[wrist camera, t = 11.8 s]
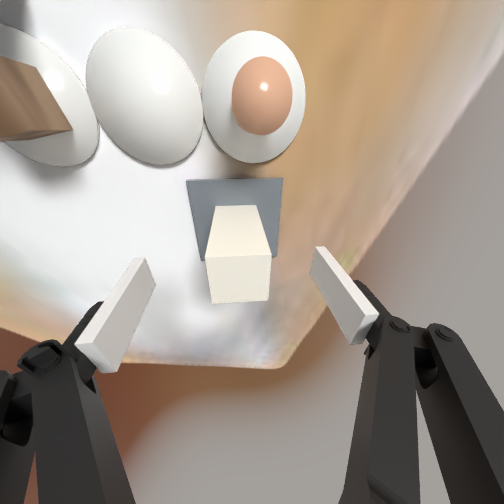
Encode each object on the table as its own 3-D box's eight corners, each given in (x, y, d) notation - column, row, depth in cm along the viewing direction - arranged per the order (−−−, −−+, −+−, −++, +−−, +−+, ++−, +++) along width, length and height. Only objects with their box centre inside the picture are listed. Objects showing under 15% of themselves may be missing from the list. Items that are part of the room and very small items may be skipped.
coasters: (15, 167, 18) (11, 167, 17) (-77, 22, 13) (-85, 20, 12) (297, 161, 20) (298, 162, 19) (311, 34, 15) (313, 32, 14)
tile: (201, 258, 25) (201, 260, 25) (187, 179, 20) (186, 180, 19) (275, 254, 26) (276, 256, 25) (281, 177, 20) (282, 178, 20)
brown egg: (233, 133, 17) (233, 135, 13) (230, 75, 15) (229, 55, 11) (275, 133, 18) (289, 134, 14) (278, 76, 16) (295, 56, 11)
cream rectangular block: (215, 206, 21) (203, 257, 13) (256, 205, 21) (271, 254, 13) (218, 241, 23) (211, 304, 15) (255, 240, 24) (268, 300, 15)
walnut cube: (29, 140, 16) (-22, 142, 13) (-15, 79, 14) (-91, 63, 11) (73, 129, 16) (32, 130, 13) (35, 66, 14) (-26, 47, 11)
